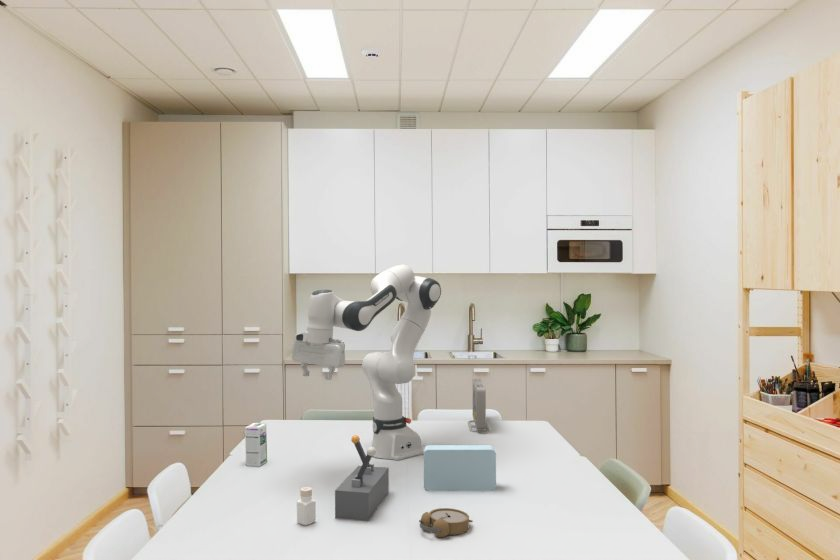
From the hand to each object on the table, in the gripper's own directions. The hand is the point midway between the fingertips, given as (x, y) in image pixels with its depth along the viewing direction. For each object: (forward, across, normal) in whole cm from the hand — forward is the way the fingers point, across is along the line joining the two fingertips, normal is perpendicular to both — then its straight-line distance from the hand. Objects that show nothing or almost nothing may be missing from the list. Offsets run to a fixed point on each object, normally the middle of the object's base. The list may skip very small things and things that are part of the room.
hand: (317, 377), depth 199 cm
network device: (+29, -26, -89) cm, 98 cm away
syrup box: (+36, +28, -4) cm, 46 cm away
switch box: (+34, -28, +10) cm, 45 cm away
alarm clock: (+33, -56, +14) cm, 67 cm away
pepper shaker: (+35, -20, +28) cm, 49 cm away
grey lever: (+25, -29, +16) cm, 41 cm away
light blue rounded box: (+32, -48, -16) cm, 60 cm away
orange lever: (+25, -26, +5) cm, 36 cm away
